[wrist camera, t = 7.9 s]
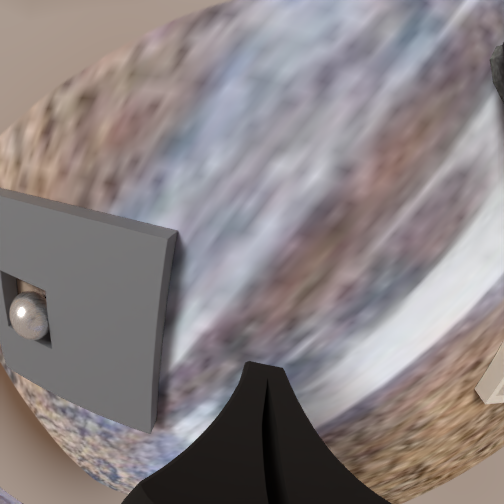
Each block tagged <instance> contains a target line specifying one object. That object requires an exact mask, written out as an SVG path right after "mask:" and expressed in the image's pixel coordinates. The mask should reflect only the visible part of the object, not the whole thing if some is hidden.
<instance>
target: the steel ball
mask: <svg viewBox="0 0 504 504" xmlns="http://www.w3.org/2000/svg"><path fill="white" fill-rule="evenodd" d="M9 315H10V321H11V324H12V326H13V328H14V330H15V331H16V332H17V333H18V334H19V335H20V336H21V337H23V338H25V339H28V340H38V339H41V338H43V337H44V336H45V335H46V334H47V333H48V332H49V330H50V329H49V321H48V312H47V302H46V299H45V298H44V297H43V296H42V295H41V294H39V293H37V292H34V291H25V292H22V293H20V294H18V295H17V296H16V297H15V298H14V300H13V301H12V303H11V306H10V312H9Z"/></svg>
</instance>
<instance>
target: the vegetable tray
mask: <svg viewBox="0 0 504 504" xmlns="http://www.w3.org/2000/svg"><path fill="white" fill-rule="evenodd" d="M475 390H476V392H477V393H478V395H479V396H480V398H481V399H482V400H483V402H484V403H485V404H493V403H504V341H503V343H502V344H501V346H500V348H499V350H498V352H497V353H496V355H495V357H494V359H493V360H492V362H491V364H490V365H489V367H488V369H487V370H486V372H485V373H484V375H483V377H482V378H481V380H480V381H479V383H478V384H477V386H476V387H475Z"/></svg>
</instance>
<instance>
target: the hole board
mask: <svg viewBox="0 0 504 504" xmlns="http://www.w3.org/2000/svg"><path fill="white" fill-rule="evenodd" d="M177 232H178V231H177V230H173V229H169V228H164V227H160V226H156V225H152V224H148V223H144V222H140V221H136V220H132V219H127V218H123V217H119V216H115V215H111V214H107V213H103V212H98V211H94V210H90V209H86V208H82V207H78V206H74V205H69V204H65V203H61V202H57V201H53V200H49V199H45V198H40V197H36V196H32V195H28V194H24V193H19V192H15V191H11V190H7V189H3V188H0V344H1V348H2V351H3V355H4V358H5V362H6V365H7V367H8V368H10V369H11V370H13V371H15V372H16V373H18V374H20V375H21V376H23V377H25V378H26V379H28V380H30V381H31V382H33V383H35V384H37V385H39V386H40V387H42V388H44V389H46V390H48V391H50V392H51V393H53V394H55V395H57V396H59V397H61V398H63V399H65V400H67V401H69V402H71V403H74V404H76V405H78V406H80V407H82V408H84V409H87V410H89V411H91V412H93V413H96V414H98V415H100V416H103V417H105V418H108V419H110V420H113V421H115V422H118V423H120V424H123V425H126V426H129V427H131V428H134V429H137V430H140V431H143V432H146V433H149V434H151V432H152V429H153V427H154V424H155V422H156V419H157V402H158V387H159V374H160V362H161V351H162V341H163V331H164V322H165V314H166V306H167V298H168V290H169V283H170V276H171V269H172V263H173V256H174V250H175V244H176V238H177ZM16 278H18V279H20V280H22V281H25V282H27V283H29V284H31V285H34V286H36V287H38V288H41V289H43V290H45V291H46V302H47V312H48V321H49V329H50V331H49V332H48V333H47V334H46V335H45V336H44V337H43V338H41V339H38V340H28V339H25V338H23V337H21V336H20V335H19V334H18V333H17V332H16V331H15V330H14V328H13V326H12V324H11V321H10V315H9V312H10V306H11V303H12V301H13V300H14V298H15V297H16V296H17V295H18V291H17V282H16Z"/></svg>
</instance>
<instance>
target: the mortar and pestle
mask: <svg viewBox="0 0 504 504" xmlns="http://www.w3.org/2000/svg"><path fill="white" fill-rule="evenodd" d="M490 63H491V70H492V77H493V83H494V85H495V87H496V89H497V91H498V92H499V94H500V96H501V99H502V101H503V103H504V43H503V45H501V46H497V47H496V49H495V51H494V52H493V54H492V56H491V58H490Z"/></svg>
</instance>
